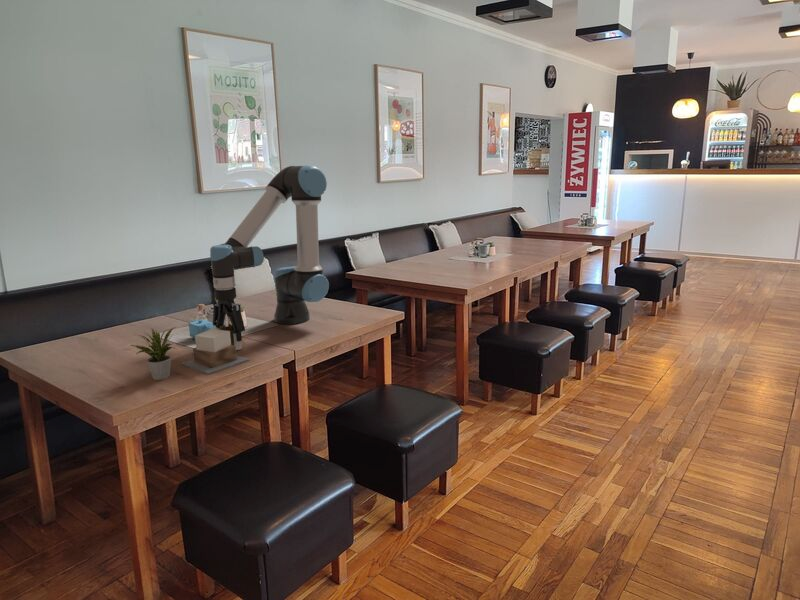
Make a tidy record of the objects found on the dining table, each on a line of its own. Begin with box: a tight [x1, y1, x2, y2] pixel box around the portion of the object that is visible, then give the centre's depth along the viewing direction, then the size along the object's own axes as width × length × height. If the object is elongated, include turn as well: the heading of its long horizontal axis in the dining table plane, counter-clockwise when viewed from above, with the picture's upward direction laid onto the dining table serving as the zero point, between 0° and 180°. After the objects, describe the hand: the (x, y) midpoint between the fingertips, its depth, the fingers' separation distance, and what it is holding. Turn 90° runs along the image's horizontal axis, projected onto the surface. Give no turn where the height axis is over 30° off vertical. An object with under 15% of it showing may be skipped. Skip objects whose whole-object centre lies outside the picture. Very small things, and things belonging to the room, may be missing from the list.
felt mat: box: [181, 354, 250, 376], centre depth 194 cm, size 16×16×1 cm
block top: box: [194, 328, 231, 352], centre depth 192 cm, size 8×8×5 cm
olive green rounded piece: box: [218, 323, 235, 346], centre depth 209 cm, size 8×7×8 cm
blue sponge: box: [188, 318, 214, 340], centre depth 221 cm, size 12×6×8 cm, turn 50°
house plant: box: [130, 326, 177, 381], centre depth 182 cm, size 14×14×16 cm
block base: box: [192, 345, 237, 368], centre depth 193 cm, size 10×10×5 cm
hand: (230, 346), depth 210 cm, fingers open, 9 cm apart
